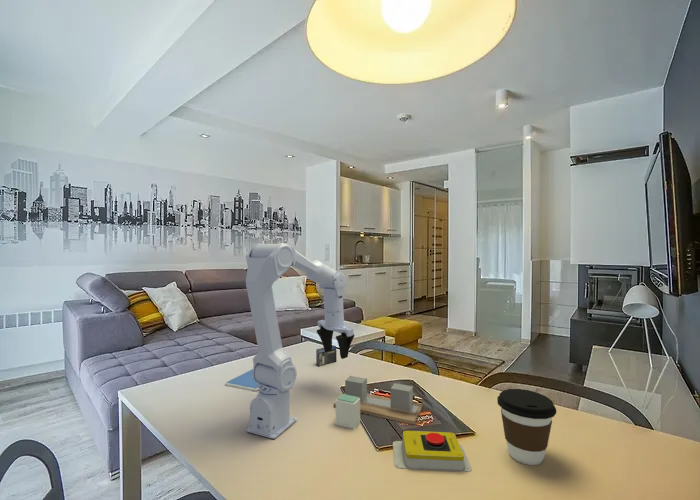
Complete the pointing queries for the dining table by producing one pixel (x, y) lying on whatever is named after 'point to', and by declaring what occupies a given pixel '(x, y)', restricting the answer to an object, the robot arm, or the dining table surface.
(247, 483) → the dining table surface
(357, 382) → the block
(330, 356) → the mini dv tape
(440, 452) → the emergency button
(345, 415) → the block
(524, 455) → the coffee cup
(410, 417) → the board
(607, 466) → the dining table surface
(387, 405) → the rail
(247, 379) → the tablet computer
